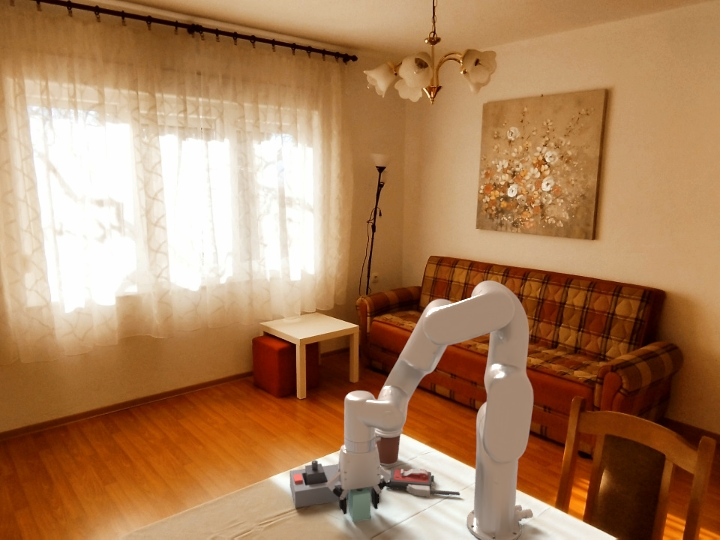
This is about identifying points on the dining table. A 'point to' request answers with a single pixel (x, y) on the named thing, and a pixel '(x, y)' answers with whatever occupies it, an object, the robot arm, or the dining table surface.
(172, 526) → the dining table surface
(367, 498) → the plug
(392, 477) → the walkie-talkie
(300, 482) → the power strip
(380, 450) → the coffee cup
